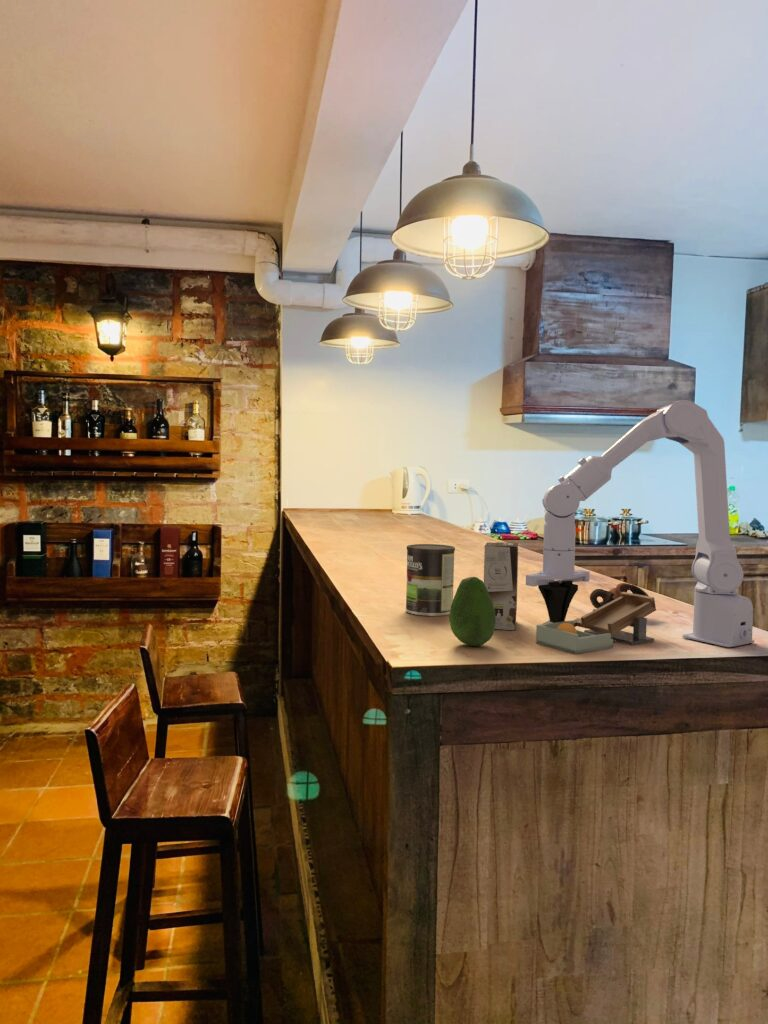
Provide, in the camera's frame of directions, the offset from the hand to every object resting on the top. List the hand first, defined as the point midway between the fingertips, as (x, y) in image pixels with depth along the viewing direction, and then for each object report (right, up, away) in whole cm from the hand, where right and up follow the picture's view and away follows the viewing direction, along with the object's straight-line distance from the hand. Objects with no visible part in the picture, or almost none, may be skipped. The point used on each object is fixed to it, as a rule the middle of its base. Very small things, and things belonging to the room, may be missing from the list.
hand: (557, 622), depth 140 cm
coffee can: (-22, -1, +21) cm, 31 cm away
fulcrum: (+11, -3, -2) cm, 11 cm away
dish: (+1, -3, -9) cm, 9 cm away
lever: (+8, 0, 0) cm, 8 cm away
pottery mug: (+17, -2, +18) cm, 24 cm away
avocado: (-17, -3, -10) cm, 20 cm away
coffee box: (-9, -2, +8) cm, 12 cm away
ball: (0, -1, -9) cm, 9 cm away
